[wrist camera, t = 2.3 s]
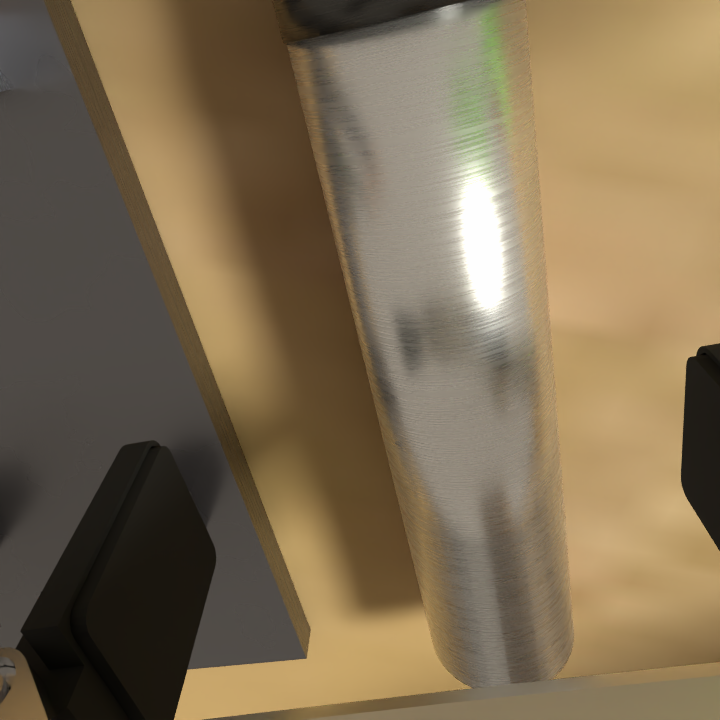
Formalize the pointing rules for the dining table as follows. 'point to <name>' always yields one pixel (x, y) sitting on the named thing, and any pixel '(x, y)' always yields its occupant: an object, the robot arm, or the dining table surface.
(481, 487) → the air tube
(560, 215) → the dining table surface
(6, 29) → the saddle stand
